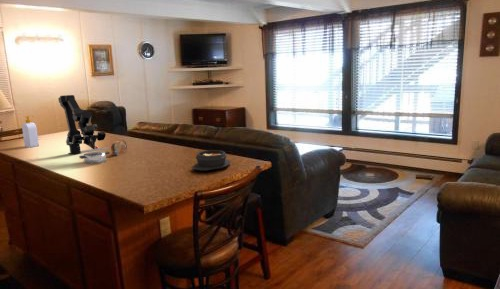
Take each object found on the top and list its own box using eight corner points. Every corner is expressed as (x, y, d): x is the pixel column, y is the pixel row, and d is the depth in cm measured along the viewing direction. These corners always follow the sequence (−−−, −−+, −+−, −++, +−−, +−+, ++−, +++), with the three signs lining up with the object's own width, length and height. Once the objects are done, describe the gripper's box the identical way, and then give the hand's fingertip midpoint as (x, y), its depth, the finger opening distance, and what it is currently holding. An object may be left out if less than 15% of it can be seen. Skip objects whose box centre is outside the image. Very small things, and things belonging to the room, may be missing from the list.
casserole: (210, 175, 190) (209, 159, 189) (183, 171, 200) (182, 155, 199) (238, 164, 211) (238, 150, 209) (212, 161, 221) (211, 147, 219)
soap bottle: (40, 145, 283) (36, 115, 278) (30, 147, 277) (26, 116, 273) (34, 144, 288) (30, 115, 283) (24, 146, 282) (20, 116, 278)
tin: (115, 156, 240) (114, 143, 238) (111, 156, 241) (109, 143, 239) (127, 151, 254) (126, 139, 253) (123, 151, 255) (122, 139, 253)
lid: (80, 153, 226) (80, 148, 226) (100, 149, 234) (99, 145, 234) (88, 152, 217) (87, 147, 216) (108, 148, 224) (107, 144, 224)
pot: (77, 162, 226) (76, 154, 225) (105, 157, 237) (104, 150, 236) (84, 166, 217) (83, 157, 216) (113, 160, 228) (112, 152, 227)
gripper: (71, 121, 220) (80, 142, 214) (103, 118, 232) (112, 138, 226) (68, 133, 227) (77, 154, 221) (99, 129, 239) (108, 149, 234)
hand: (94, 148), depth 226 cm, fingers closed
